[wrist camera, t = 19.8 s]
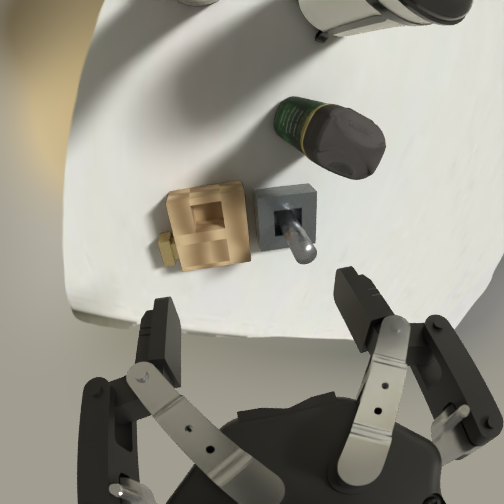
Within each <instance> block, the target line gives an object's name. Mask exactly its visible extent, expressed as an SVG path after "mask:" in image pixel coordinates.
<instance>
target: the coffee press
mask: <svg viewBox="0 0 504 504" xmlns="http://www.w3.org/2000/svg"><path fill="white" fill-rule="evenodd" d="M298 1H299V6H300V9H301V11H302V13H303V15H304V16H305V18H306V19H307V20H308V21H309V22H310V23H311V24H312V25H313V26H315V27H316V28H317V29H319V31H318V33H317V34H316V36H315V41H318V42H320V43H324V42H325V41H326V40H327V39H328V37H330V36H332V35H334V36H350V35H355V34H360V33H365V32H370V31H375V30H380V29H386V28H392V27H398V26H406V25H407V26H422V25H430V24H437V25H454V24H457V23H459V22H461V21H462V20H463V19H464V18H465V16H466V15H467V14H468V12H469V11H470V9H471V7H472V4H473V0H298Z"/></svg>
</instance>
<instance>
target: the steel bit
mask: <svg viewBox="0 0 504 504" xmlns="http://www.w3.org/2000/svg"><path fill="white" fill-rule="evenodd" d="M275 219H276V221H277V223H278V225H279V227H280V229H281V231H282V233H283V235H284V237H285V239H286V241H287V243H288V245H289V247H290V249H291V251H292V253H293V255H294V257H295V259H296V261H297V262H298V263H300V264H308V263H310V262H312V261H313V260H314V259H315V257H316V255H317V250H316V248H315V247H314V245H313V243H312V242H311V240H310V239H309V237H308V236H307V234H306V232H305V231H304V229H303V228H302V226H301V225H300V223H299V221H298V220H297V218H296V217H295V215H294V214H293V212H292V211H291V209H287V210H280V211H276V212H275Z"/></svg>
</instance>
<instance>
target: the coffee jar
mask: <svg viewBox="0 0 504 504" xmlns="http://www.w3.org/2000/svg"><path fill="white" fill-rule="evenodd" d="M274 130H275V132H276V133H277V135H278V136H280V137H281V138H282V139H284V140H285V141H287V142H288V143H290V144H291V145H292V146H294V147H295V148H296V149H298V150H299V151H300V152H302V153H303V154H305V155H306V157H307V158H308V159H310V160H311V161H313V162H314V163H316V164H317V165H319V166H321V167H322V168H325V169H327V170H328V171H331V172H333V173H335V174H338V175H340V176H343V177H346V178H349V179H353V180H360V179H364V178H366V177H368V176H370V175H372V174H373V173H374V172H375V170H376V168H377V166H378V165H379V163H380V161H381V158H382V156H383V154H384V151H385V148H386V144H385V138H384V135H383V133H382V131H381V129H380V128H379V127H378V126H377V125H376V124H374V122H373V121H372V120H370V119H368V118H366V117H365V116H363V115H361V114H359V113H357V112H356V111H354V110H352V109H350V108H345V107H342V106H339V105H335V104H327V103H323V102H318V101H314V100H309V99H305V98H301V97H289V98H287V99H285V100H284V101H283V102H282V103H281V105H280V106H279V108H278V111H277V113H276V115H275V119H274Z"/></svg>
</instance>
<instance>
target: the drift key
mask: <svg viewBox="0 0 504 504" xmlns="http://www.w3.org/2000/svg"><path fill="white" fill-rule="evenodd" d="M158 245H159V249H160V252H161V255H162V259H163V262H164V265H165V267H167V266H174V265H176V259H179V255H178V251H177V247H176V243H175V239H174V236H172V234H171V232H166V233H160V237H159V241H158Z"/></svg>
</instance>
